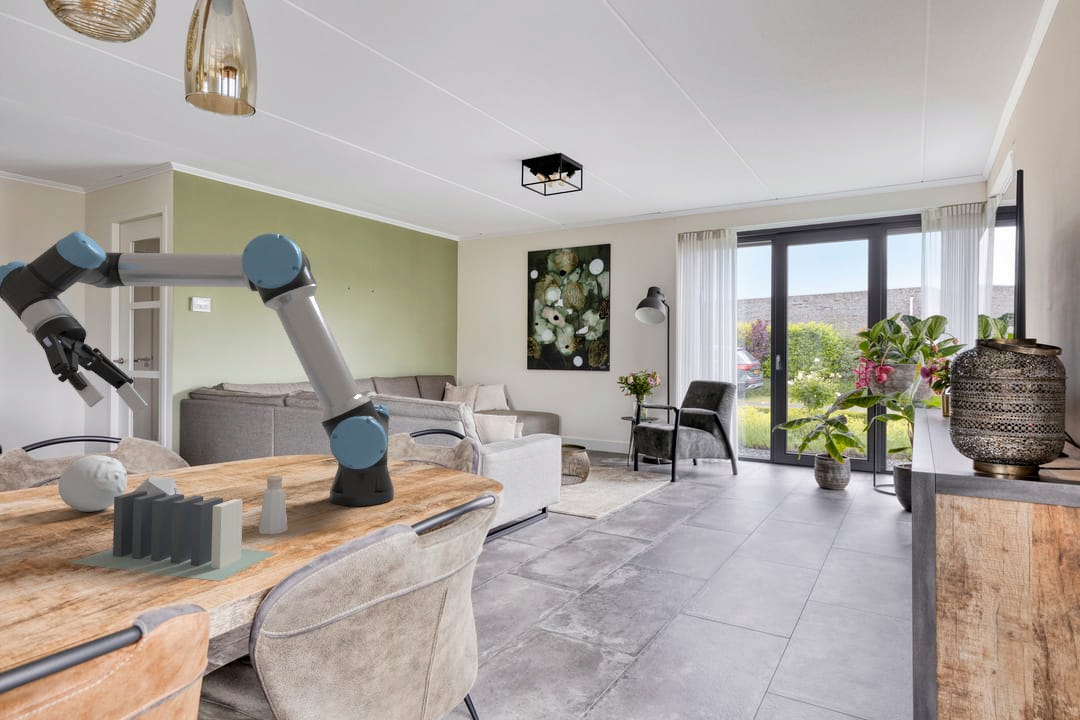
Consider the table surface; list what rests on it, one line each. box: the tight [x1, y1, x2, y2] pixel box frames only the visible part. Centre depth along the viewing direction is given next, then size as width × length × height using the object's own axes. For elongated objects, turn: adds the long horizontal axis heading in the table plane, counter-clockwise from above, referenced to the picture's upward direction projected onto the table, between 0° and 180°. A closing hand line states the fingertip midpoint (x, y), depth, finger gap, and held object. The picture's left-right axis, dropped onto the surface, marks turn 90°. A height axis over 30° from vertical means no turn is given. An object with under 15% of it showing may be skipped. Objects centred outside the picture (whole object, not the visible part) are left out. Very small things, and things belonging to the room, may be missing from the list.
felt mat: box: [70, 547, 277, 582], centre depth 103 cm, size 28×14×1 cm, turn 78°
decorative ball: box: [58, 454, 128, 513], centre depth 131 cm, size 12×12×12 cm
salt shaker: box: [258, 475, 288, 535], centre depth 120 cm, size 5×5×11 cm
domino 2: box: [132, 492, 166, 559], centre depth 104 cm, size 2×5×10 cm, turn 168°
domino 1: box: [112, 491, 147, 557], centre depth 104 cm, size 2×5×10 cm, turn 168°
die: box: [132, 476, 181, 497], centre depth 131 cm, size 8×9×10 cm
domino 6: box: [211, 498, 244, 569], centre depth 101 cm, size 2×5×10 cm, turn 168°
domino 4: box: [171, 495, 204, 564], centre depth 102 cm, size 2×5×10 cm, turn 168°
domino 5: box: [191, 496, 224, 566], centre depth 101 cm, size 2×5×10 cm, turn 168°
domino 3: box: [151, 493, 185, 562], centre depth 103 cm, size 2×5×10 cm, turn 168°
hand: (120, 406), depth 118 cm, fingers open, 13 cm apart
